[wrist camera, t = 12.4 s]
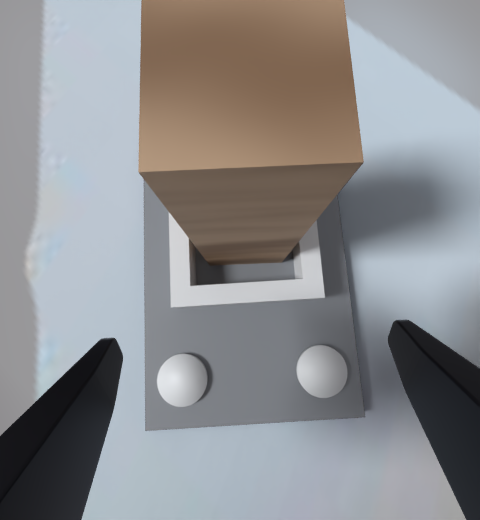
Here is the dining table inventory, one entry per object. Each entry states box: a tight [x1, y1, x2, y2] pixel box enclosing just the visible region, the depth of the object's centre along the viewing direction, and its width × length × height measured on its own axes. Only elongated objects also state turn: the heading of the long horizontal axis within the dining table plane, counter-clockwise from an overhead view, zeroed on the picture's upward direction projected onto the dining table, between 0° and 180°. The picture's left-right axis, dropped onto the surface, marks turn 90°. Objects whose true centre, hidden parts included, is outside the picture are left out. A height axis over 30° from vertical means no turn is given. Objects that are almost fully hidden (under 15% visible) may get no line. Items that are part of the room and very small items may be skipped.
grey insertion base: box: [144, 180, 365, 431], centre depth 19 cm, size 20×14×3 cm
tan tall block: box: [139, 0, 364, 266], centre depth 14 cm, size 6×5×14 cm
